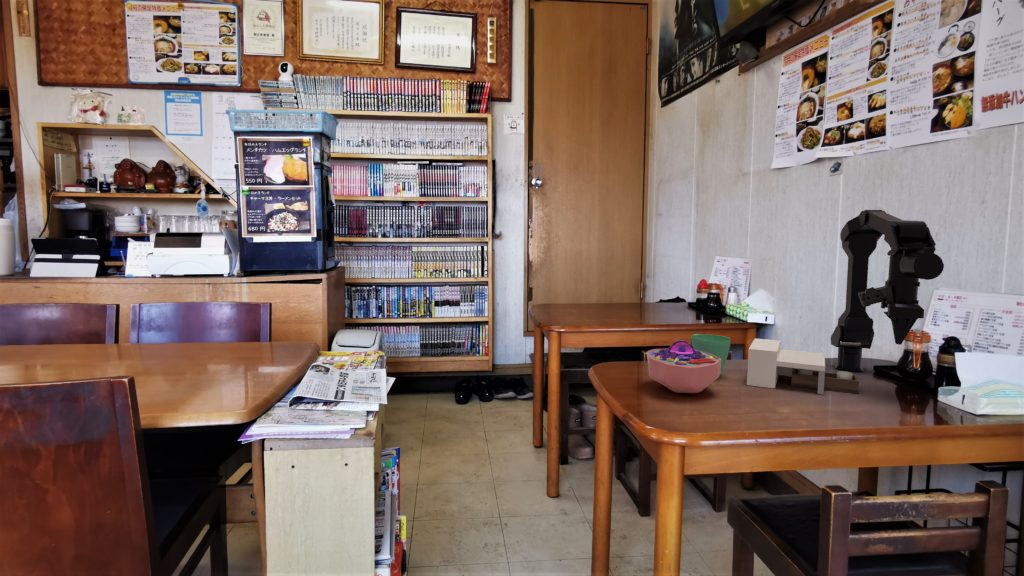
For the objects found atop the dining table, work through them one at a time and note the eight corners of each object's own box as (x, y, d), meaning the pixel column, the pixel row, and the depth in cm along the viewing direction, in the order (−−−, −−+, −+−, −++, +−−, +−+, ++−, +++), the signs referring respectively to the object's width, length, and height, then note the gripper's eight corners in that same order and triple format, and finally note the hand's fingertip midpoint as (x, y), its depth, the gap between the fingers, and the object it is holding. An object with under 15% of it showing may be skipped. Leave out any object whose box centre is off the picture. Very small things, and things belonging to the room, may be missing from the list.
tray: (792, 380, 143) (793, 364, 143) (856, 387, 137) (857, 371, 136) (791, 385, 138) (792, 369, 138) (858, 393, 131) (859, 377, 131)
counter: (753, 371, 152) (754, 338, 151) (822, 379, 145) (824, 344, 144) (746, 384, 138) (748, 348, 137) (823, 394, 130) (825, 356, 130)
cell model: (641, 398, 126) (643, 348, 125) (647, 377, 145) (649, 333, 144) (722, 406, 121) (724, 354, 120) (717, 382, 140) (719, 338, 139)
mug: (736, 379, 143) (738, 341, 142) (700, 380, 142) (702, 341, 141) (709, 366, 157) (710, 331, 156) (675, 367, 156) (677, 331, 155)
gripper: (859, 272, 140) (854, 334, 141) (864, 277, 124) (860, 347, 125) (913, 274, 135) (908, 339, 136) (927, 279, 118) (921, 352, 120)
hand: (898, 344), depth 130 cm, fingers closed
